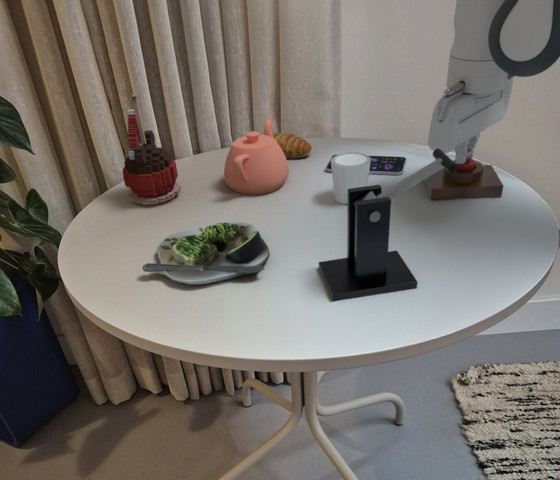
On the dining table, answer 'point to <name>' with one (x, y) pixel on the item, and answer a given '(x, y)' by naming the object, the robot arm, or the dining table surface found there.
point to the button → (466, 165)
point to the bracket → (367, 252)
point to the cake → (147, 164)
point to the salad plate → (211, 253)
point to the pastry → (292, 145)
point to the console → (464, 184)
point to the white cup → (349, 173)
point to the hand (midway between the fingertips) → (463, 161)
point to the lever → (416, 176)
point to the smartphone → (382, 165)
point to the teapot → (256, 163)
